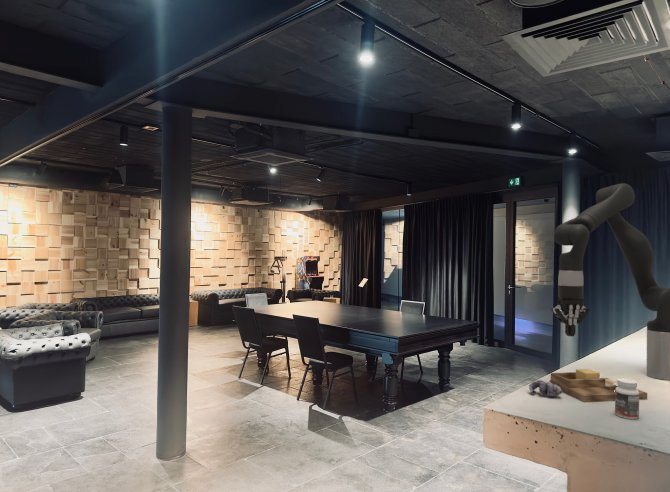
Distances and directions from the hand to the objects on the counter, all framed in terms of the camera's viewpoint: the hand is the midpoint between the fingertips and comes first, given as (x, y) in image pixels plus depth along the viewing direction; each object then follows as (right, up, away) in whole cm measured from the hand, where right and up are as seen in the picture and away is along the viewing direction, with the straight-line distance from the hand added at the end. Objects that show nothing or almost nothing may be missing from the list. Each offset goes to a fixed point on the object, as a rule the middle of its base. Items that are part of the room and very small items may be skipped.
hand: (570, 335), depth 152 cm
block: (+6, -16, +1) cm, 17 cm away
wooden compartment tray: (+7, -18, -2) cm, 20 cm away
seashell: (-11, -18, -6) cm, 22 cm away
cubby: (+3, -16, 0) cm, 16 cm away
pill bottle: (+4, -18, -24) cm, 30 cm away
